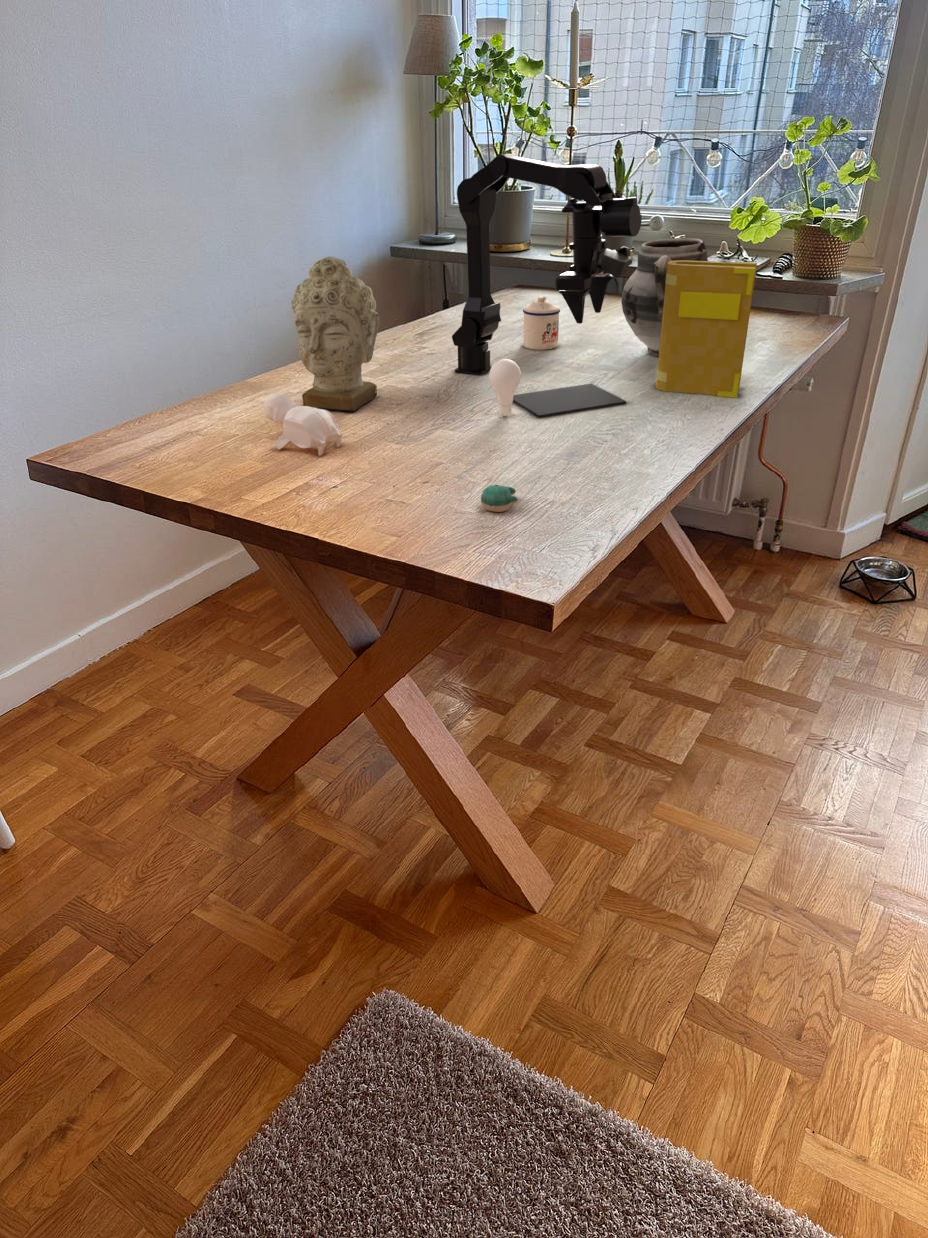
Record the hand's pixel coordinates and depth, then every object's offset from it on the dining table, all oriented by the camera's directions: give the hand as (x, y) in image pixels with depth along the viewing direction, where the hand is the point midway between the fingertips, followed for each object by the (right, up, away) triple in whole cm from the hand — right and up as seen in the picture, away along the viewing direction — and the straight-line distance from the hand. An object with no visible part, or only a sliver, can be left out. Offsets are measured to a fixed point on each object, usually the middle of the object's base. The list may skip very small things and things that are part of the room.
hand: (588, 317), depth 184 cm
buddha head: (-51, -17, +2) cm, 54 cm away
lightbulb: (-18, -22, -8) cm, 30 cm away
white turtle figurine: (-55, -30, -21) cm, 66 cm away
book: (+23, -14, +5) cm, 28 cm away
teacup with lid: (-6, +6, +39) cm, 40 cm away
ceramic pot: (+23, +2, +31) cm, 38 cm away
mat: (-5, -17, -1) cm, 18 cm away
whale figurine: (-20, -44, -45) cm, 67 cm away
